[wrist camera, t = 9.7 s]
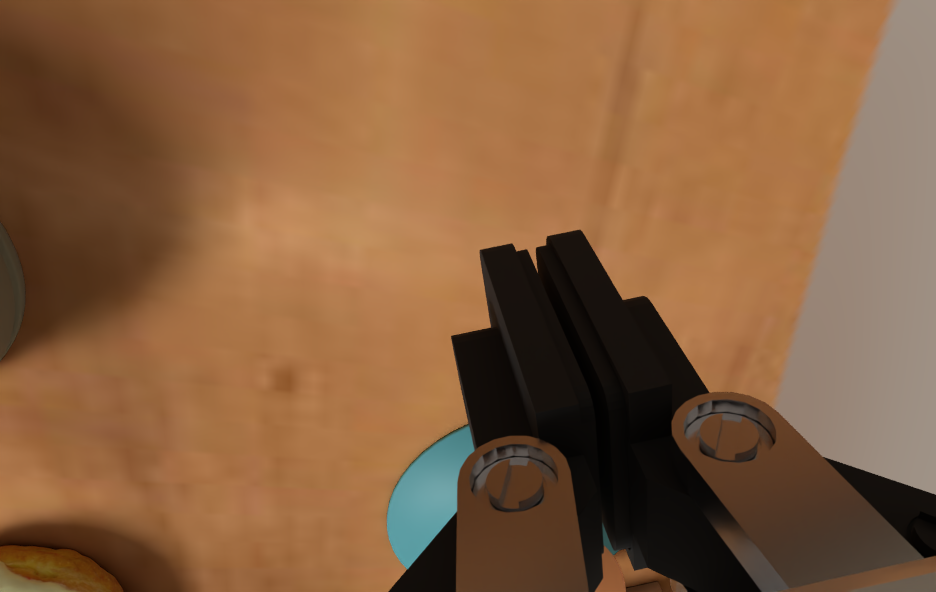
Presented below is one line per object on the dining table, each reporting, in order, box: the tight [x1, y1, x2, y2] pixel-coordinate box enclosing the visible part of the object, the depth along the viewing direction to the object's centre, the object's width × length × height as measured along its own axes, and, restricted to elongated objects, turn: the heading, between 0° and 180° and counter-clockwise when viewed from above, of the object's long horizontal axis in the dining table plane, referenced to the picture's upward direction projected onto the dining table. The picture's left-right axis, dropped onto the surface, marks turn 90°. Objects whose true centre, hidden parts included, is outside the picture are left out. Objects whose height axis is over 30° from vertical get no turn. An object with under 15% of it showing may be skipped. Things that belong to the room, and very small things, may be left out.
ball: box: [595, 546, 626, 592], centre depth 37 cm, size 6×6×6 cm
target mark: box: [387, 424, 619, 569], centre depth 37 cm, size 13×13×1 cm
